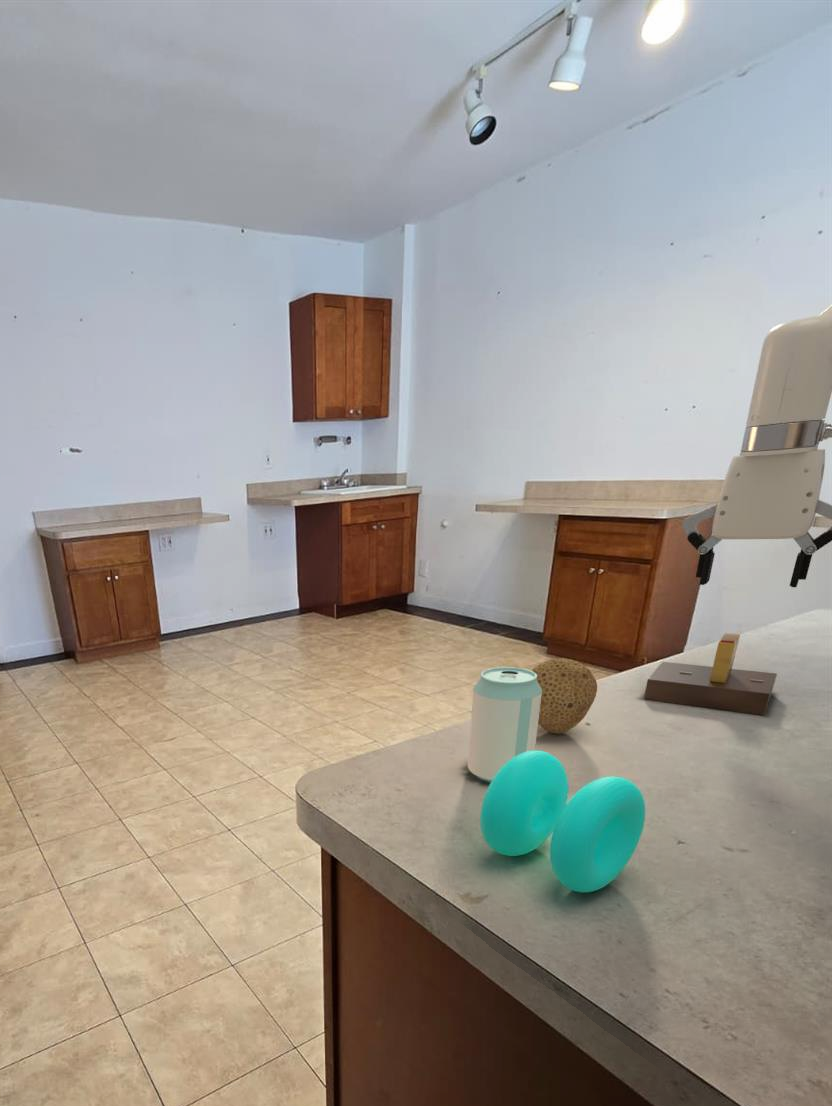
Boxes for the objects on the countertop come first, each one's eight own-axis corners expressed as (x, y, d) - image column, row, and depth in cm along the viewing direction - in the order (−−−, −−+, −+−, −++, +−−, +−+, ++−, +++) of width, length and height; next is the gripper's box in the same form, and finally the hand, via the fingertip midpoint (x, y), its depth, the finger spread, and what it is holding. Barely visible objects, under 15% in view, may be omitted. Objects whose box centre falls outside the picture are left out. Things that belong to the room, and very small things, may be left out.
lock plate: (771, 693, 90) (777, 672, 89) (764, 715, 84) (770, 692, 82) (658, 680, 99) (662, 660, 98) (643, 699, 92) (647, 678, 91)
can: (456, 765, 77) (462, 669, 72) (509, 757, 78) (519, 661, 73) (487, 790, 70) (496, 687, 65) (544, 781, 72) (558, 678, 67)
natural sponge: (522, 746, 80) (531, 670, 76) (506, 721, 88) (513, 651, 84) (599, 745, 79) (612, 667, 75) (575, 719, 87) (586, 648, 83)
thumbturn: (715, 670, 92) (725, 631, 89) (730, 672, 91) (740, 632, 88) (709, 681, 88) (719, 640, 86) (725, 683, 87) (735, 641, 85)
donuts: (538, 827, 63) (551, 733, 59) (640, 872, 55) (662, 768, 51) (469, 862, 58) (477, 764, 54) (569, 917, 51) (588, 807, 46)
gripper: (876, 431, 75) (833, 581, 82) (700, 446, 85) (676, 577, 92) (877, 433, 70) (832, 592, 77) (690, 448, 80) (666, 587, 87)
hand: (747, 584), depth 85 cm, fingers open, 9 cm apart
